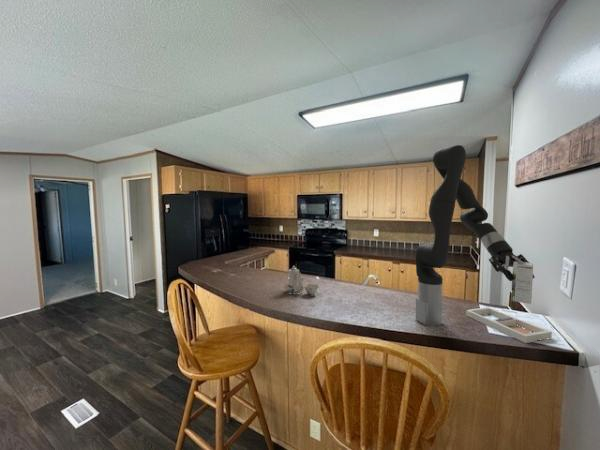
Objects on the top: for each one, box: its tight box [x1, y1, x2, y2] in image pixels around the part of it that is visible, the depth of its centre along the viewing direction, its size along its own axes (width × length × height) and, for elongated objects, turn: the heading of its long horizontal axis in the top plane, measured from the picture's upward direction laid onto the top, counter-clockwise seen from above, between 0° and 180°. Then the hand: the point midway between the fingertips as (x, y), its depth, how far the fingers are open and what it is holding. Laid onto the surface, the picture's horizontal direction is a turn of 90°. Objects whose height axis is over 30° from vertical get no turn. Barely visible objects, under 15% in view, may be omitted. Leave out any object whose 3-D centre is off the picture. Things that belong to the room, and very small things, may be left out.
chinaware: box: [285, 265, 320, 297], centre depth 151 cm, size 28×17×17 cm, turn 34°
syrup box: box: [510, 261, 534, 305], centre depth 96 cm, size 6×6×14 cm
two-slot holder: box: [465, 306, 553, 344], centre depth 103 cm, size 12×24×3 cm, turn 13°
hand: (522, 279), depth 96 cm, fingers closed on syrup box, 8 cm apart
